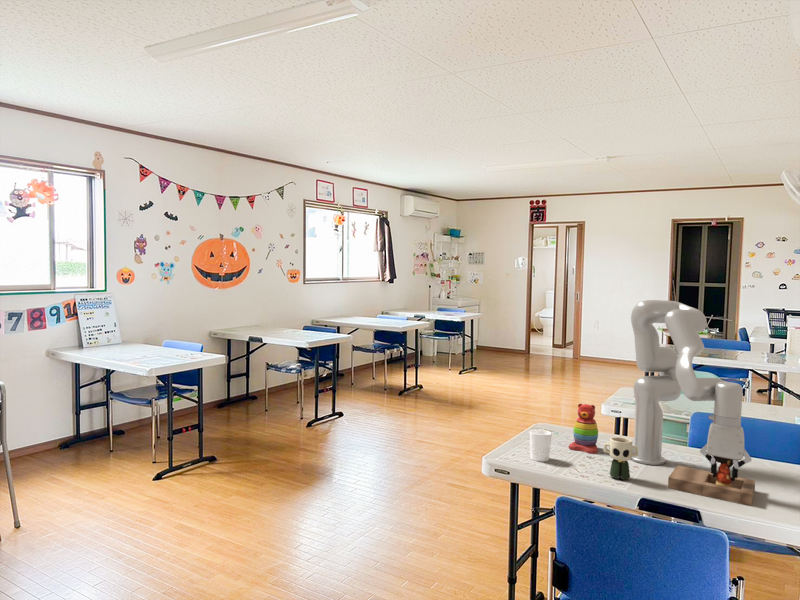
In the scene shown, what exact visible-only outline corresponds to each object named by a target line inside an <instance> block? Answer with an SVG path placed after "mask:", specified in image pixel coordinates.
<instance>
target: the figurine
mask: <svg viewBox="0 0 800 600" xmlns="http://www.w3.org/2000/svg"><path fill="white" fill-rule="evenodd" d="M713 457H714V458H715V461H716V463H720V464H719V466H718V467H717V473H716V477H717V481H716V484H717V485H722V486H727V487H732V485H731V484H730V483H731V482H732V478H731V477H730V476H731V469H730V468H732V467H733V466H734V463H733V459H727V458H722V457H716V456H713ZM732 488H733V487H732Z"/></svg>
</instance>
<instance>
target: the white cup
mask: <svg viewBox="0 0 800 600" xmlns="http://www.w3.org/2000/svg"><path fill="white" fill-rule="evenodd" d="M551 445H552V432H551V431H549V430H546V429H530V430H529V453H530V454H529V456H530V457H529V458H530V459H531V460H532V461H536V462H548V461H549V460H550V451H551Z"/></svg>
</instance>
